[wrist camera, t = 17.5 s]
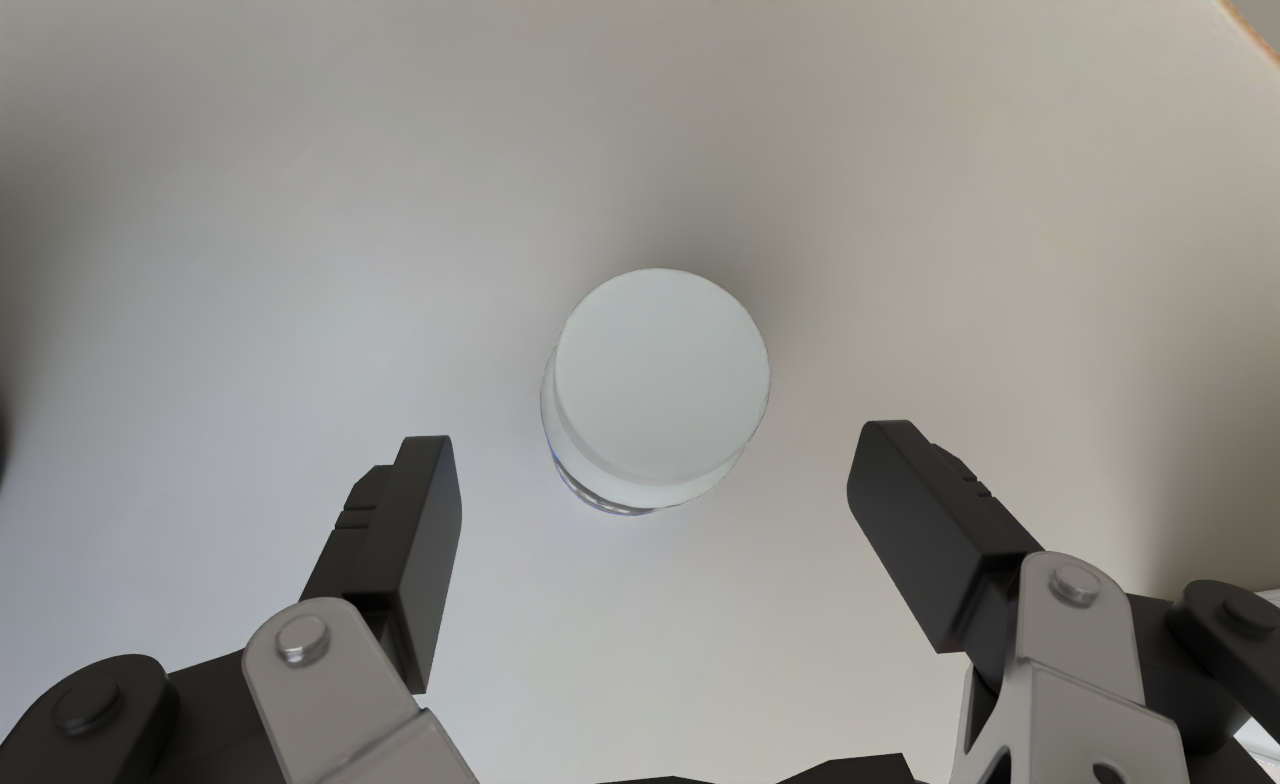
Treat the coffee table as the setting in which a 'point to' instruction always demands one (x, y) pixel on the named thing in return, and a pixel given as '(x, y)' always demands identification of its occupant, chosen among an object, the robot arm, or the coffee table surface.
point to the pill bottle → (653, 390)
